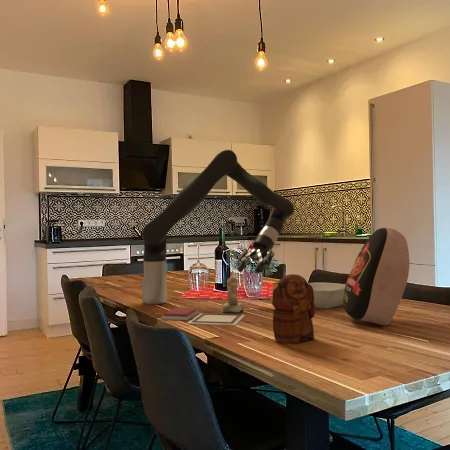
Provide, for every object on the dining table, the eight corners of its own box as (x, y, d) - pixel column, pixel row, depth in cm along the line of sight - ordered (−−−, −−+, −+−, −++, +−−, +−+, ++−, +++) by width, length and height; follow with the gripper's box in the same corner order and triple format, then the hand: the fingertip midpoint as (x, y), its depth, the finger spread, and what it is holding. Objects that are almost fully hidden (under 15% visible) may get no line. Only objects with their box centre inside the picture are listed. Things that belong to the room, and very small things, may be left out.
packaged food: (337, 315, 158) (335, 228, 158) (394, 315, 157) (393, 227, 157) (352, 330, 136) (351, 228, 136) (420, 329, 135) (418, 227, 135)
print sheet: (187, 323, 149) (187, 321, 149) (201, 314, 164) (201, 312, 164) (235, 325, 145) (235, 323, 145) (245, 315, 161) (245, 313, 161)
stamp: (222, 312, 167) (222, 277, 167) (226, 309, 172) (226, 276, 172) (239, 313, 165) (238, 278, 165) (242, 310, 171) (241, 276, 171)
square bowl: (283, 306, 179) (283, 286, 179) (312, 299, 194) (311, 281, 194) (330, 312, 165) (330, 291, 165) (357, 304, 180) (357, 284, 180)
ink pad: (162, 319, 156) (162, 313, 156) (174, 312, 168) (174, 307, 168) (187, 320, 154) (187, 314, 154) (198, 313, 166) (197, 307, 166)
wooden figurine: (285, 346, 120) (284, 277, 120) (270, 340, 126) (269, 274, 126) (319, 339, 126) (318, 273, 126) (304, 335, 132) (303, 272, 131)
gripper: (247, 233, 187) (229, 264, 178) (276, 233, 177) (257, 265, 168) (256, 246, 190) (238, 276, 182) (284, 246, 181) (266, 278, 172)
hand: (247, 271), depth 175 cm, fingers open, 8 cm apart
